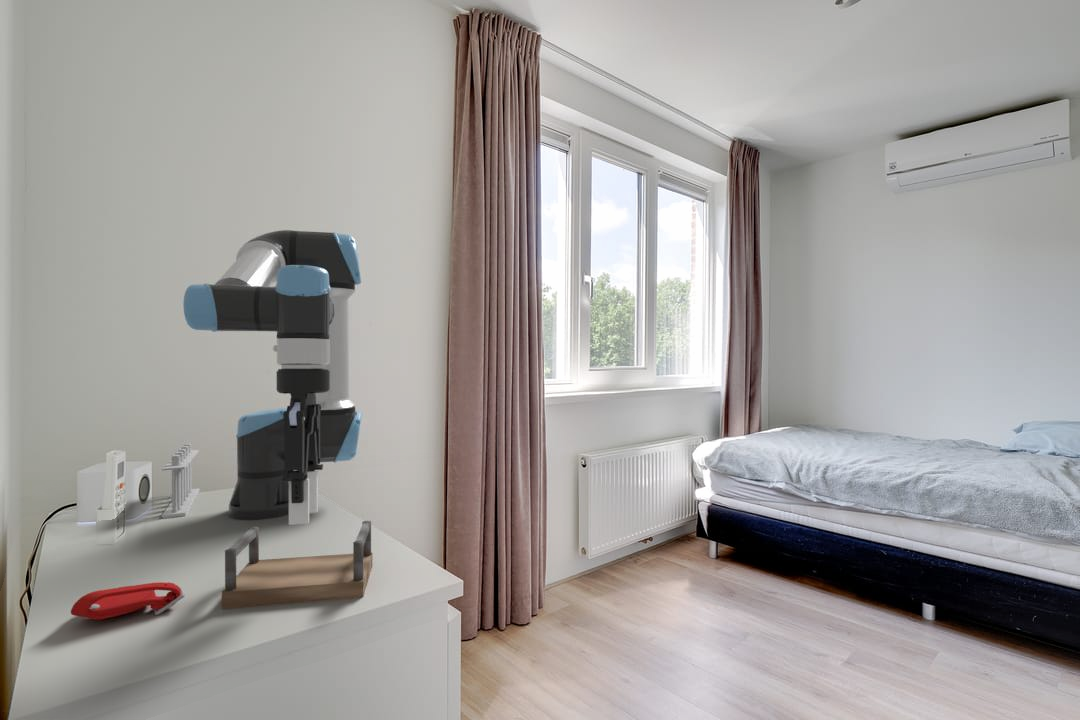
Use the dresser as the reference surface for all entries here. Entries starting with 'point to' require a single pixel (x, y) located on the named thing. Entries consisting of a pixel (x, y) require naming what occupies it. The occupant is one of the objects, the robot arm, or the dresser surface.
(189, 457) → the test tube rack
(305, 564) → the wooden serving tray
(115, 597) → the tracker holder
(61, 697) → the dresser surface
